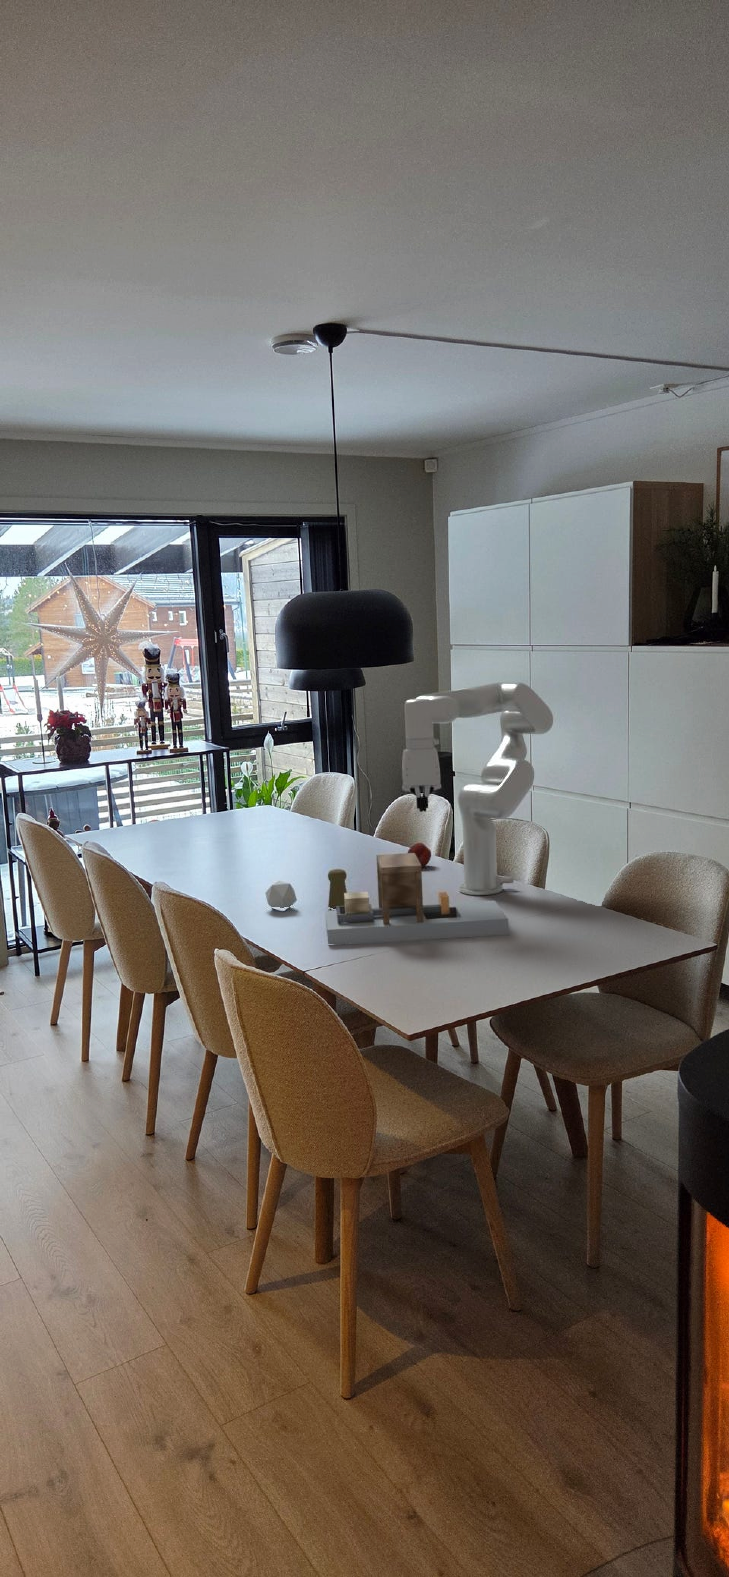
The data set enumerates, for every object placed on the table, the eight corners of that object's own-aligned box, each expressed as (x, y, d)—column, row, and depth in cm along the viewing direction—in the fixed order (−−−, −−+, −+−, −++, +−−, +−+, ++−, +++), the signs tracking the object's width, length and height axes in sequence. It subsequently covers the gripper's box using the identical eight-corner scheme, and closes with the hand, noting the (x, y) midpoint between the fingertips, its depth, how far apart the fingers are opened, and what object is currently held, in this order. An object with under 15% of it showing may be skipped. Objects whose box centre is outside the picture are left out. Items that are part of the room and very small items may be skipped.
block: (368, 914, 268) (367, 891, 268) (370, 920, 263) (368, 897, 262) (345, 915, 268) (344, 893, 267) (346, 921, 262) (345, 898, 261)
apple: (430, 869, 333) (429, 845, 332) (406, 869, 334) (405, 845, 333) (432, 864, 340) (431, 840, 339) (408, 864, 342) (407, 840, 340)
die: (303, 911, 292) (299, 880, 296) (287, 903, 285) (283, 871, 289) (278, 920, 295) (274, 889, 299) (262, 912, 288) (258, 881, 292)
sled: (445, 906, 271) (444, 890, 270) (450, 916, 262) (449, 898, 261) (336, 913, 269) (335, 896, 269) (337, 922, 261) (336, 905, 260)
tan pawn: (325, 907, 293) (323, 868, 292) (345, 904, 295) (343, 866, 294) (332, 911, 288) (330, 873, 286) (352, 909, 290) (350, 870, 288)
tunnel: (416, 906, 274) (414, 852, 271) (423, 922, 259) (421, 865, 257) (378, 909, 273) (376, 855, 271) (383, 924, 258) (381, 867, 256)
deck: (494, 915, 277) (494, 900, 276) (508, 934, 259) (508, 918, 259) (326, 925, 274) (325, 910, 274) (328, 945, 257) (327, 929, 256)
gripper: (445, 741, 286) (447, 807, 289) (391, 744, 285) (394, 810, 288) (449, 744, 279) (451, 811, 281) (394, 747, 278) (397, 815, 280)
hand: (422, 810), depth 285 cm, fingers closed
